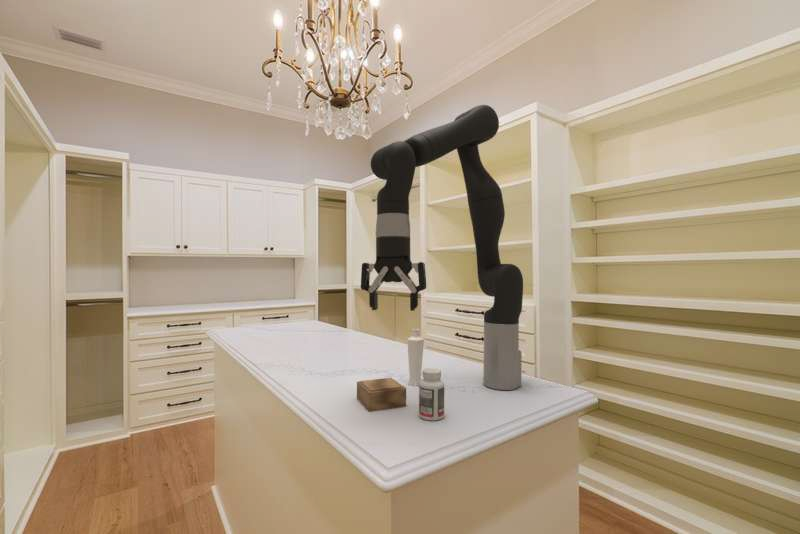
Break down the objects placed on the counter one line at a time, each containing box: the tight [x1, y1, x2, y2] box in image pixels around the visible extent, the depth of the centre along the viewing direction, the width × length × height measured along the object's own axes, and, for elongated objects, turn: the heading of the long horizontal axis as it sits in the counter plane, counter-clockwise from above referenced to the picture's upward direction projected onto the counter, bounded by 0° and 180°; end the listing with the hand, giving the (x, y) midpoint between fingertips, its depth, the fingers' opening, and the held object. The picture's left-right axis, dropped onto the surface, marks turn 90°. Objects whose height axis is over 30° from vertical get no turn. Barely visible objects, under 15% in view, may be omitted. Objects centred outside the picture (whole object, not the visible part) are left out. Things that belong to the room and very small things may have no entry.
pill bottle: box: [418, 367, 445, 421], centre depth 78 cm, size 5×5×10 cm
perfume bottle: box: [407, 328, 425, 387], centre depth 101 cm, size 5×4×15 cm
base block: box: [356, 377, 407, 412], centre depth 86 cm, size 9×9×4 cm
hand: (393, 310), depth 80 cm, fingers open, 8 cm apart
